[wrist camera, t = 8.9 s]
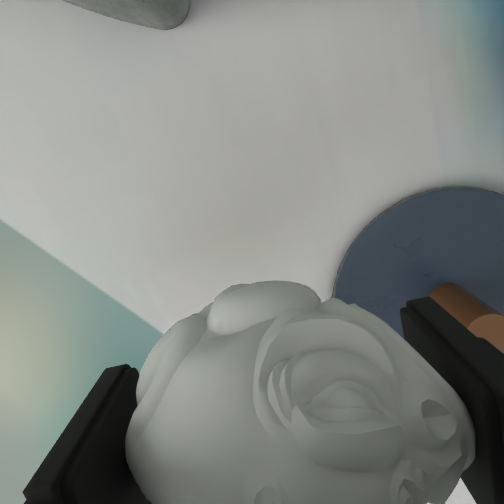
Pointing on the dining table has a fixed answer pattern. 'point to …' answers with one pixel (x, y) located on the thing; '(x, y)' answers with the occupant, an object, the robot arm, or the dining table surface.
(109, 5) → the hip flask
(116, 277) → the dining table surface
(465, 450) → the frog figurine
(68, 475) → the robot arm
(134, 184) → the dining table surface
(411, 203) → the lid
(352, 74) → the dining table surface
